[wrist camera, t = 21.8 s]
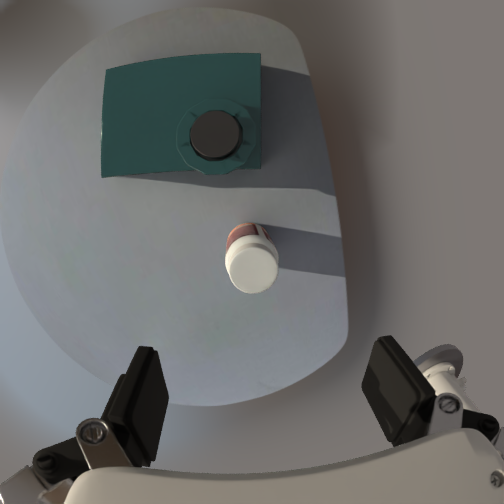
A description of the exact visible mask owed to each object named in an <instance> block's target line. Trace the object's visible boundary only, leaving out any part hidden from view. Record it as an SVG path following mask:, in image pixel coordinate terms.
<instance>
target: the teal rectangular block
mask: <svg viewBox="0 0 504 504" xmlns="http://www.w3.org/2000/svg"><path fill="white" fill-rule="evenodd" d="M209 111H223V112H225V113H228V114H229V115H231V116H232V117H233V118H234V119H235V120H236V122H237V124H238V127H239V141H238V144H237V146H236V148H235V149H234V150H233V151H232V152H231V153H230V154H228V155H226V156H224V157H221V158H210V157H207V156H205V155H203V154H201V153H199V152H198V151H197V150H196V149H195V147H194V146H193V144H192V141H191V135H190V134H191V128H192V125H193V124H194V122H195V121H196V119H197V118H198V117H199V116H201V115H202V114H204V113H206V112H209ZM235 169H261V54H260V53H218V54H200V55H188V56H178V57H170V58H162V59H156V60H149V61H144V62H138V63H133V64H128V65H124V66H119V67H115V68H111V69H107V70H106V75H105V84H104V94H103V107H102V125H101V177H102V178H106V177H115V176H124V175H134V174H145V173H157V172H172V171H190V170H197V171H199V172H201V173H203V174H206V175H214V174H228V173H230V172H232V171H233V170H235Z"/></svg>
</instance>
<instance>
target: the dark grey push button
mask: <svg viewBox="0 0 504 504" xmlns="http://www.w3.org/2000/svg"><path fill="white" fill-rule="evenodd" d="M190 135H191V141H192V144H193V146H194V147H195V149H196V150H197V151H198V152H199V153H201V154H203V155H205V156H207V157H210V158H221V157H224V156H226V155H228V154H230V153H231V152H232V151H233V150H234V149H235V148H236V146H237V144H238V141H239V127H238V124H237V122H236V120H235V119H234V118H233V117H232V116H231V115H229V114H228V113H225V112H223V111H209V112H206V113H204V114H202V115H201V116H199V117H198V118H197V119H196V121H195V122H194V124H193V125H192V128H191V134H190Z"/></svg>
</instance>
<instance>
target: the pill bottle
mask: <svg viewBox="0 0 504 504" xmlns="http://www.w3.org/2000/svg"><path fill="white" fill-rule="evenodd" d="M278 262H279V257H278V252H277V249H276V247H275V246H274V244H273V242H272V240H271V238H270V236H269V234H268V233H267V231H266V230H265V229H264V228H263V227H261V226H260V225H258V224H255V223H244V224H241V225H238V226H237V227H235V228H234V229H233V230H232V231H231V233H230V234H229V237H228V240H227V247H226V256H225V264H226V269H227V271H228V273H229V276H230V279H231V281H232V283H233V284H234V285H235V286H236V287H237V288H238V289H239V290H241V291H243V292H246V293H260V292H263V291H265V290H267V289H268V288H270V287H271V286H272V285H273V284H274V282H275V280H276V278H277V276H278Z"/></svg>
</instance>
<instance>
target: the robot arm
mask: <svg viewBox="0 0 504 504" xmlns="http://www.w3.org/2000/svg"><path fill="white" fill-rule="evenodd" d="M464 383H466V378H465V377H463V378H461V379H459V380H458V379H457V378H456V377H455V368H454V366H453V365H452V364H451V363H449V362H442V363H439V364H436V365H434V366H432V367H431V368H429V369H427V370H426V371H425V372H423V373H421V371H420V370H419V369H418V368H417V366H416V365H415V364H414V362H413V361H412V360H411V359H410V358H409V356H408V355H407V354H406V353H405V351H404V350H403V349H402V348H401V346H400V345H399V344H398V343H397V342H396V340H395V339H394V338H393V337H392V336H391V335H390V336H383V337H379V338H378V340H377V341H375V343H374V345H373V349H372V352H371V356H370V360H369V363H368V366H367V369H366V372H365V375H364V378H363V381H362V391H363V393H364V394H365V396H366V398H367V400H368V402H369V404H370V406H371V408H372V410H373V412H374V414H375V416H376V418H377V420H378V422H379V424H380V426H381V428H382V430H383V432H384V434H385V436H386V438H387V440H388V441H389V442H392V444H393V448H390V449H387V450H384V451H381V452H377V453H374V454H371V455H367V456H363V457H359V458H355V459H352V460H347V461H342V462H338V463H333V464H328V465H323V466H318V467H311V468H304V469H297V470H289V471H279V472H268V473H249V474H211V473H210V474H209V473H190V472H178V471H168V470H158V469H149V468H141V467H142V466H146V467H150V463H151V461H155V459H156V454H157V450H158V445H159V440H160V436H161V431H162V426H163V422H164V418H165V414H166V409H167V405H168V401H169V395H168V391H167V387H166V383H165V380H164V376H163V372H162V368H161V364H160V359H159V355H158V352H157V351H156V350H154V349H153V347H147V346H139V347H138V349H137V351H136V353H135V355H134V357H133V359H132V361H131V363H130V366H129V368H128V370H127V372H126V374H122V375H120V377H119V379H118V381H117V383H116V385H115V387H114V390H113V392H112V394H111V396H110V398H109V401H108V403H107V405H106V407H105V410H104V412H103V414H102V416H101V419H99V418H90V419H86V420H84V421H82V422H81V423H80V424H79V426H78V427H77V429H76V437H74V438H71V439H69V440H66V441H64V442H61V443H58V444H55V445H53V446H50V447H47V448H44V449H42V450H40V451H38V452H37V453H36V454H35V455H34V457H33V462H32V463H33V465H32V466H31V467H29V466H28V465H27V466H25V467H24V468H23V469H21V470H20V471H18V472H17V473H16V474H14V475H13V476H12V477H10V478H9V479H7V480H6V481H4V482H3V483H2V484H1V485H0V499H1V501H2V502H3V504H504V427H502V428H501V429H499V423H498V421H497V420H496V418H494V417H493V416H491V415H487V414H483V413H481V411H480V410H479V409H478V408H477V406H476V405H475V404H474V403H473V401H472V400H471V399H470V398H469V397H468V395H467V394H466V393H465V392H464V391H465V388H466V387H465V384H464ZM404 443H405V444H404ZM399 445H400V446H399Z"/></svg>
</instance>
